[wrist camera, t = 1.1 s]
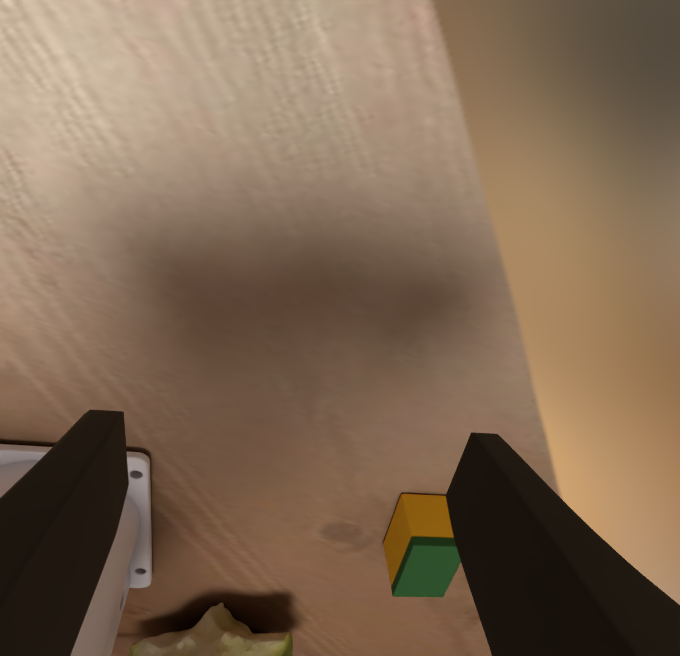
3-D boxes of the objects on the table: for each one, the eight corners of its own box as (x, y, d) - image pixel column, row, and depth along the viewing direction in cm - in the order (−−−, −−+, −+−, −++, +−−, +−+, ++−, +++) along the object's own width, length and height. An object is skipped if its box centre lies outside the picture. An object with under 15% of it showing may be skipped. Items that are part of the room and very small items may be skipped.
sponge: (429, 544, 27) (443, 597, 25) (382, 543, 27) (392, 596, 24) (450, 495, 25) (468, 547, 23) (400, 492, 25) (413, 545, 22)
